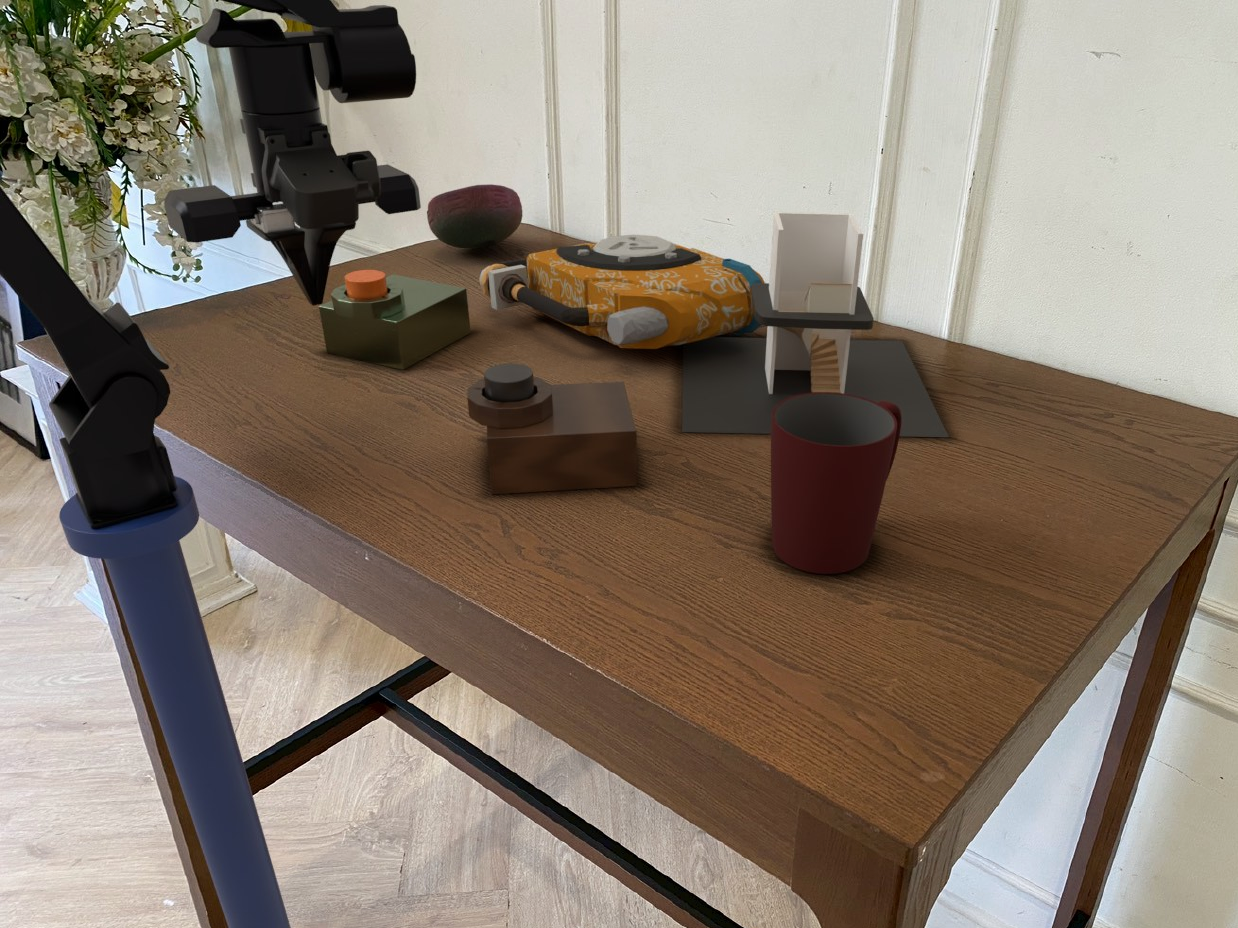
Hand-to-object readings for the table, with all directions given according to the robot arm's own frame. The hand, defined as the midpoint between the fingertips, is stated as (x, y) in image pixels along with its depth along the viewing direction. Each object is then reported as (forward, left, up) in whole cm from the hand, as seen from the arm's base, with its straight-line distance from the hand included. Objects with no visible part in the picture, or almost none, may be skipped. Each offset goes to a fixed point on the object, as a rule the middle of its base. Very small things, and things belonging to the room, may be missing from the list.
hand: (315, 303), depth 86 cm
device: (+36, +8, -12) cm, 39 cm away
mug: (+24, -40, -12) cm, 48 cm away
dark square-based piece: (+43, -16, -12) cm, 48 cm away
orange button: (+10, +15, -5) cm, 19 cm away
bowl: (+35, +40, -11) cm, 54 cm away
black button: (+10, -15, -5) cm, 19 cm away
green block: (+13, +17, -12) cm, 25 cm away
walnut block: (+13, -17, -12) cm, 25 cm away
